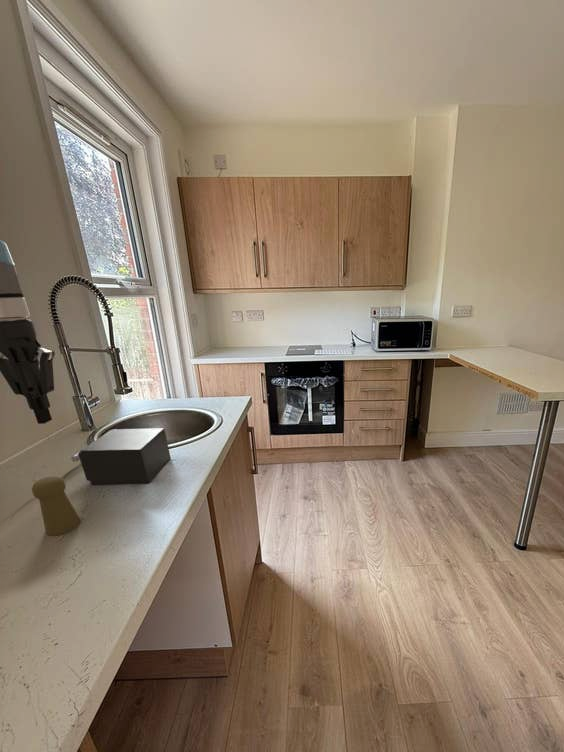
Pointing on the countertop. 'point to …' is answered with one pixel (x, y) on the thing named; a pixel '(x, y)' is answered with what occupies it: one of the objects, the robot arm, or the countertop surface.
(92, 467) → the cabinet
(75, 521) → the cork
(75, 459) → the drawer
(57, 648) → the countertop surface
